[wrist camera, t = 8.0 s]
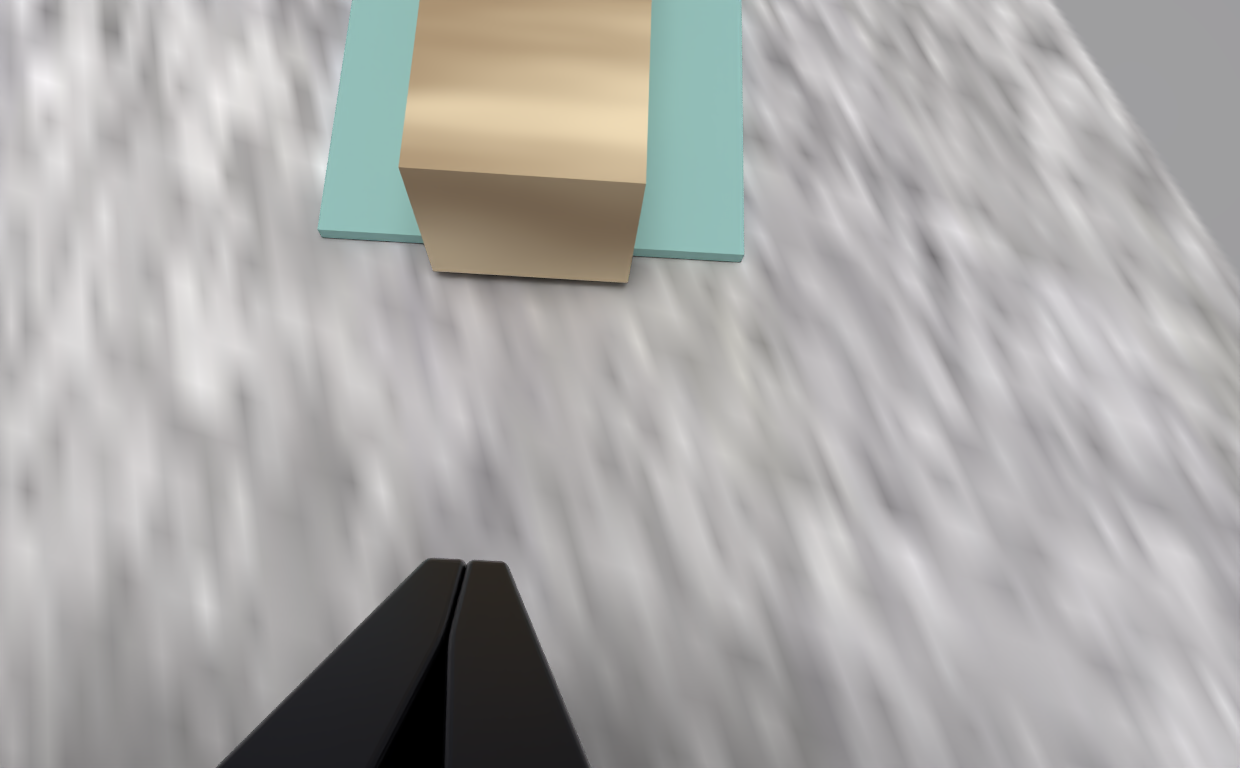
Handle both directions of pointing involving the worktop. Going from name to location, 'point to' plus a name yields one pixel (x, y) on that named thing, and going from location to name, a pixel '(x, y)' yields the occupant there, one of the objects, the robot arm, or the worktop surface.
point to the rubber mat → (676, 144)
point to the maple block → (529, 135)
